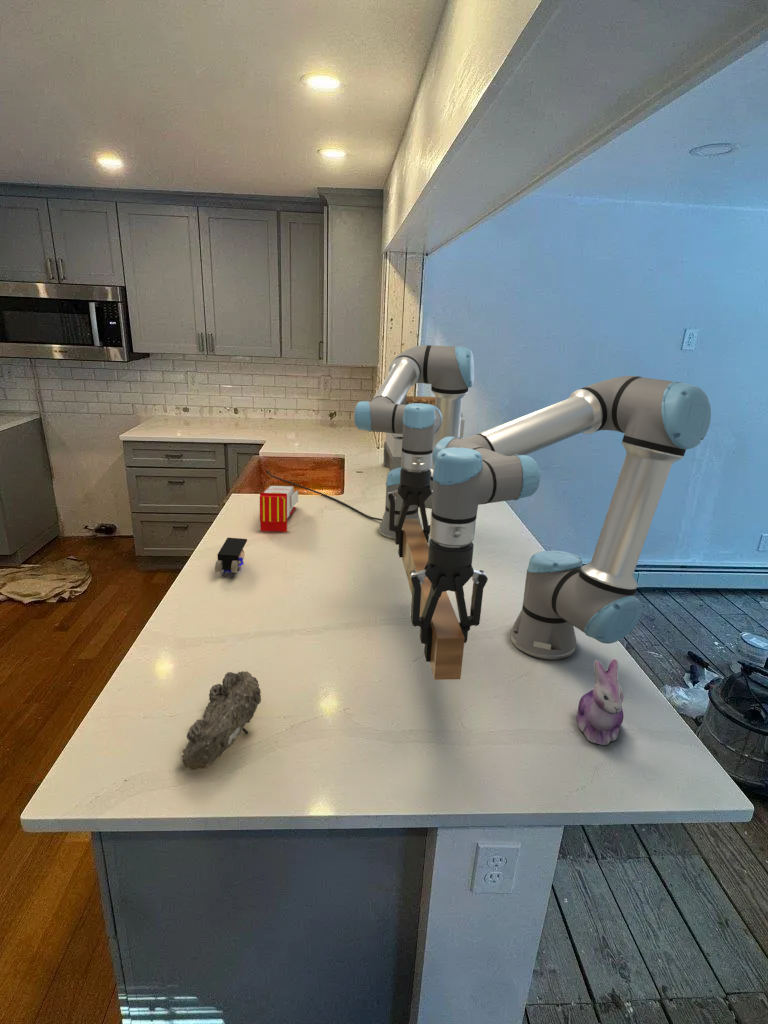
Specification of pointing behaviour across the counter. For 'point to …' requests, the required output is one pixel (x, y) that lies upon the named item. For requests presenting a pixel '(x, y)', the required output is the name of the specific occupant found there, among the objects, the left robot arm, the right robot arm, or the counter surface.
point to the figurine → (602, 706)
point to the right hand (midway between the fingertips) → (441, 656)
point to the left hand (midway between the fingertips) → (410, 555)
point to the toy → (277, 507)
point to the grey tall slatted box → (395, 440)
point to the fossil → (222, 719)
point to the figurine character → (230, 556)
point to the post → (444, 619)
